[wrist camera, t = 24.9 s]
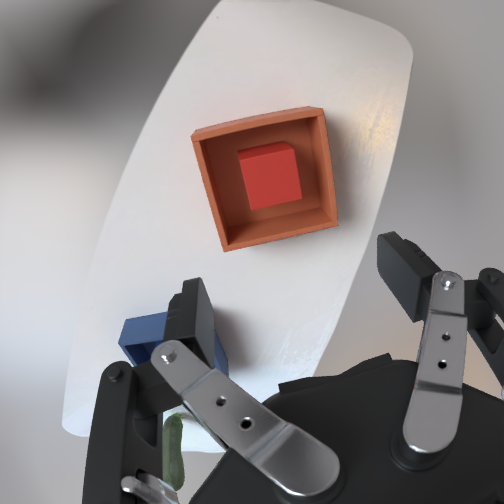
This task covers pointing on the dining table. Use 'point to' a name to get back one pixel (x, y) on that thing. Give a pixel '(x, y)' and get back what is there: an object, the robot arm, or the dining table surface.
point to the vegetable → (173, 452)
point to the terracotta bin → (233, 186)
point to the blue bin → (151, 330)
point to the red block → (270, 174)
